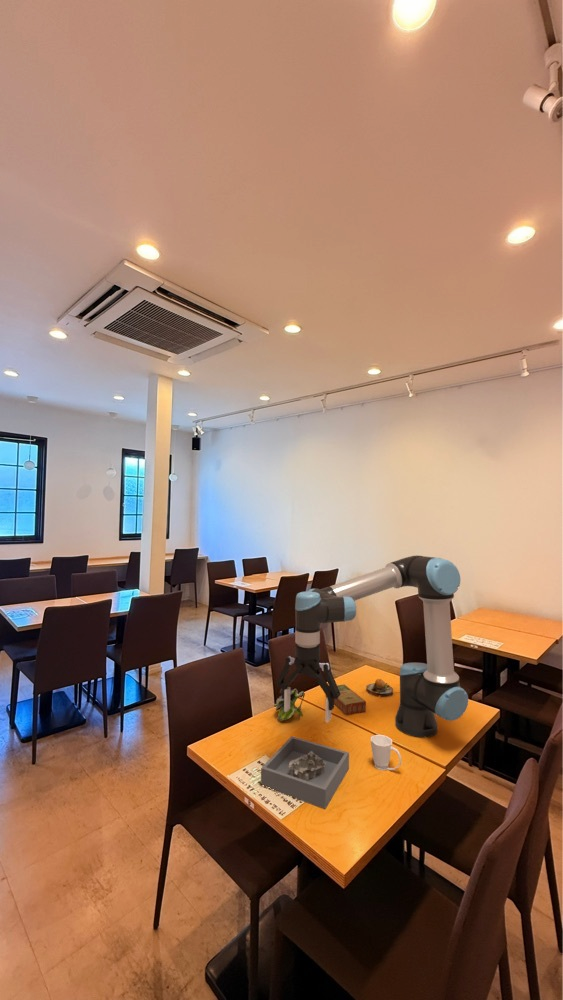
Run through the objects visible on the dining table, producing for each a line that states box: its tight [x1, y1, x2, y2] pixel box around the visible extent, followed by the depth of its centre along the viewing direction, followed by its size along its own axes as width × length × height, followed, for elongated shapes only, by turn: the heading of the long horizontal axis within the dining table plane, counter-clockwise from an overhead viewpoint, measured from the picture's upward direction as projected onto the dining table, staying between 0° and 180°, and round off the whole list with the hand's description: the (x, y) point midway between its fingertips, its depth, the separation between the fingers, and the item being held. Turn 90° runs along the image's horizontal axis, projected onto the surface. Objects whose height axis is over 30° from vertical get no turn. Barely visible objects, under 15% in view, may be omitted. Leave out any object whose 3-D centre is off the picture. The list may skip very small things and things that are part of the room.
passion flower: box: [273, 688, 306, 722], centre depth 161 cm, size 13×12×14 cm
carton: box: [325, 684, 367, 717], centre depth 172 cm, size 10×18×5 cm, turn 19°
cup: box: [370, 734, 402, 772], centre depth 128 cm, size 7×10×8 cm
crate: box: [260, 735, 350, 810], centre depth 123 cm, size 20×20×5 cm
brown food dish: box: [365, 678, 394, 698], centre depth 185 cm, size 12×12×8 cm
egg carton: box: [289, 751, 326, 781], centre depth 123 cm, size 10×7×4 cm
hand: (307, 715), depth 124 cm, fingers open, 13 cm apart
